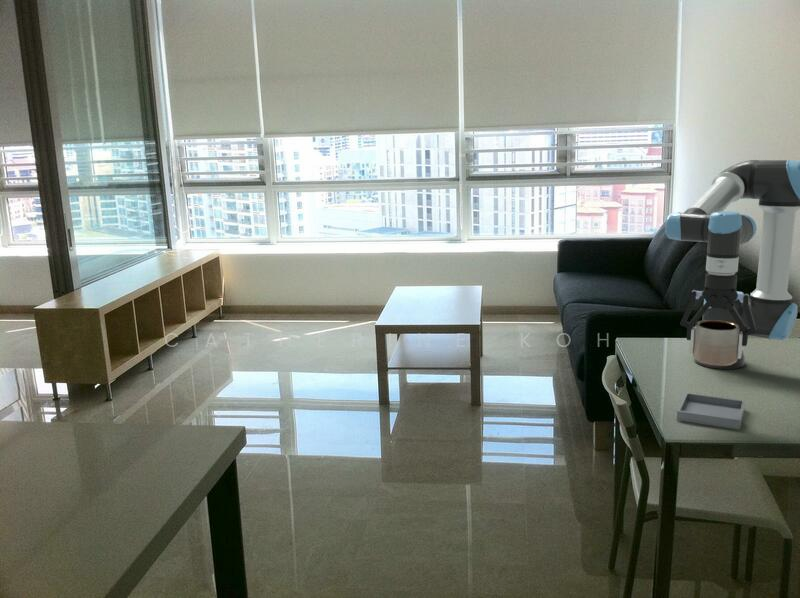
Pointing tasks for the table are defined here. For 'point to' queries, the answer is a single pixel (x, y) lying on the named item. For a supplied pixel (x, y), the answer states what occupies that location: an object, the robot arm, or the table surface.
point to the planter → (716, 342)
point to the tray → (711, 410)
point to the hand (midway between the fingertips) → (715, 354)
